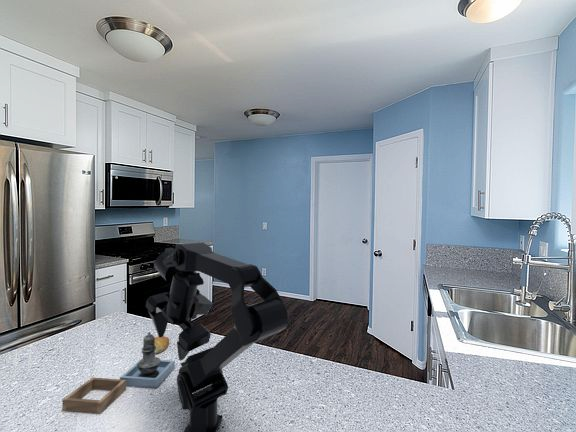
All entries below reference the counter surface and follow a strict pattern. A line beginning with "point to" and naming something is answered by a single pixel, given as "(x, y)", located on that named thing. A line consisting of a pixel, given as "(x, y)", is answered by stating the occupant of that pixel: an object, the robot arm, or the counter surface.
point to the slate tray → (134, 380)
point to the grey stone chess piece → (148, 358)
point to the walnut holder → (94, 406)
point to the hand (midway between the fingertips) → (170, 347)
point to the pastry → (161, 344)
